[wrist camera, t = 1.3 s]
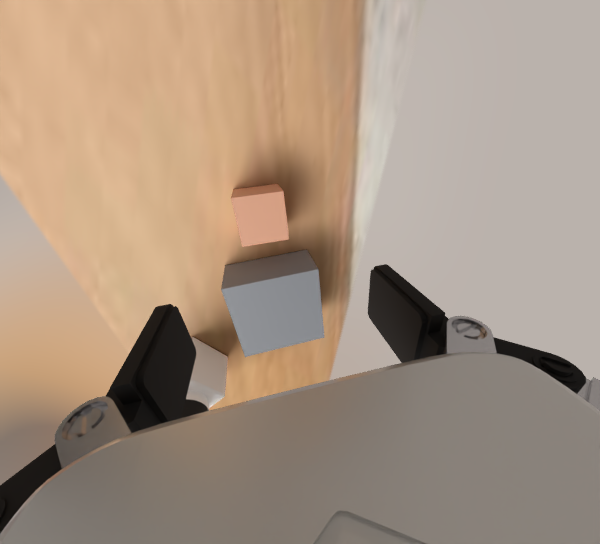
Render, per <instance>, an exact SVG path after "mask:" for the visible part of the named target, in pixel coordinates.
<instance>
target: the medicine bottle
mask: <svg viewBox="0 0 600 544" xmlns="http://www.w3.org/2000/svg"><path fill="white" fill-rule="evenodd" d="M191 339H192V341H193V343H194V346H195V348H196V359H195V363H194V367H193V371H192V376H191V380H190V384H189V388H188V392H187V396H186V401H185V405H184V409H183V413H182V417H181V418H184V417H188V416H191V415H195V414H199V413H202V412H206V411H209V408H210V407H211V406H213V405H214V404H215V403H217V402H218V401H219V400H221V399H222V398H223V397H224V396H225V387H226V375H227V362H228V357H227V356H226V355H224V354H222V353H220V352H219V351H217V350H215V349H213V348H212V347H210V346H208V345H206V344H205V343H203V342H201V341H199V340H198V339H196V338H194V337H191Z"/></svg>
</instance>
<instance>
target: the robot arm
mask: <svg viewBox="0 0 600 544" xmlns="http://www.w3.org/2000/svg"><path fill="white" fill-rule="evenodd" d="M368 315H369V318H370V319H371V321H372V322H373V324H374V325H375V326H376V328H377V329H378V330H379V332H380V333H381V335H382V336H383V337H384V339H385V340H386V341H387V343H388V344H389V345H390V347H391V348H392V350H393V351H394V353H395V354H396V355H397V357H398V358H399V359H400V361H401V362H402V363H400V364H396V365H391V366H387V367H383V368H379V369H375V370H371V371H367V372H363V373H359V374H354V375H350V376H346V377H342V378H338V379H334V380H330V381H326V382H322V383H318V384H313V385H309V386H305V387H301V388H297V389H293V390H289V391H285V392H281V393H277V394H273V395H269V396H265V397H261V398H257V399H254V400H250V401H246V402H242V403H238V404H234V405H230V406H226V407H222V408H218V409H214V410H210V411H206V412H202V413H199V414H195V415H191V416H188V417H184V418H181V417H182V413H183V409H184V405H185V401H186V396H187V392H188V388H189V384H190V380H191V376H192V371H193V367H194V363H195V359H196V348H195V346H194V343H193V341H192V339H191V337H190V334H189V332H188V330H187V328H186V325H185V323H184V321H183V319H182V316H181V314H180V312H179V310H178V308H177V307H176V306H175V307H173V305H171V304H168V305H163V306H157V307H156V308H155V309H154V311H153V313H152V315H151V316H150V318H149V320H148V322H147V323H146V325H145V327H144V329H143V331H142V332H141V334H140V336H139V338H138V339H137V341H136V343H135V345H134V346H133V348H132V350H131V352H130V353H129V355H128V357H127V359H126V361H125V362H124V364H123V366H122V368H121V369H120V371H119V373H118V375H117V376H116V378H115V380H114V382H113V384H112V385H111V387H110V390H109V392H108V393H107V395H106V397H97V398H95V399H92V400H89V401H87V402H85V403H84V404H82V405H80V406H79V407H78V408H76V409H75V410H74V411H72V412H71V413H70V414H69V415H68V416H67V417H66V418H65V419H64V420H63V421H62V423H61V424H60V426H59V427H58V429H57V431H56V434H55V445H53V446H52V447H51V448H49V449H48V450H47V451H45V452H44V453H43V454H41V455H40V456H39V457H37V458H36V459H35V460H33V461H32V462H31V463H30V464H28V465H27V466H25V467H24V468H23V469H22V470H20V471H19V472H18V473H16V474H15V475H14V476H12V477H11V478H10V479H8V480H7V481H6V482H4V483H3V484H2V485H0V544H600V380H598V379H596V378H593V379H592V380H591V381H590V380H588V379H586V377H585V376H584V374H583V373H582V371H580V370H579V369H578V368H577V367H576V366H575V365H573V364H572V363H570V362H569V361H567V360H565V359H563V358H561V357H559V356H556V355H553V354H551V353H547V352H544V351H540V350H537V349H533V348H530V347H526V346H522V345H519V344H515V343H512V342H508V341H505V340H501V339H497V338H494V337H493V335H492V332H491V330H490V329H489V328H488V327H487V326H486V325H485V324H483V323H482V322H480V321H478V320H476V319H473V318H469V317H465V316H455V317H452V318H450V319H448V318H447V317H446V316H445V312H443V311H442V310H441V309H440V308H439V307H437V306H436V305H435V304H434V303H432V302H431V301H430V300H429V299H428V298H427V297H425V296H424V295H423V294H422V293H420V292H419V291H418V290H417V289H416V288H415V287H413V286H412V285H411V284H410V283H409V282H407V281H406V280H405V279H404V278H403V277H401V276H400V275H399V274H398V273H396V272H395V271H394V270H393V269H392V268H391V267H389V266H388V265H380V266H375V267H374V270H371V276H370V289H369V303H368Z"/></svg>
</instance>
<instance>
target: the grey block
mask: <svg viewBox="0 0 600 544" xmlns="http://www.w3.org/2000/svg"><path fill="white" fill-rule="evenodd" d="M221 290H222V293H223V296H224V299H225V301H226V304H227V307H228V310H229V313H230V315H231V318H232V321H233V324H234V327H235V330H236V332H237V335H238V338H239V341H240V344H241V347H242V349H243V352H244V355H245V357H247V356H251V355H255V354H259V353H263V352H267V351H271V350H275V349H279V348H283V347H287V346H291V345H295V344H299V343H303V342H307V341H311V340H316V339H320V338H324V328H323V317H322V305H321V294H320V282H319V271H318V268H317V266H316V264H315V263H314V261H313V259H312V257H311V256H310V254H309V252H308V251H307V250H302V251H297V252H292V253H286V254H281V255H276V256H271V257H266V258H261V259H256V260H251V261H246V262H241V263H236V264H230V265H225V270H224V276H223V282H222V288H221Z"/></svg>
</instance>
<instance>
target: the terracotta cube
mask: <svg viewBox="0 0 600 544" xmlns="http://www.w3.org/2000/svg"><path fill="white" fill-rule="evenodd" d="M231 200H232V204H233V209H234V213H235V217H236V222H237V226H238V230H239V234H240V239H241V243H242V247H245V246H251V245H257V244H263V243H269V242H276V241H282V240H288V239H289V234H288V225H287V217H286V209H285V200H284V192H283V190H282V189H281V188H280V186H279V185H278V184H271V185H263V186H255V187H247V188H240V189H233V193H232V196H231Z"/></svg>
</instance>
